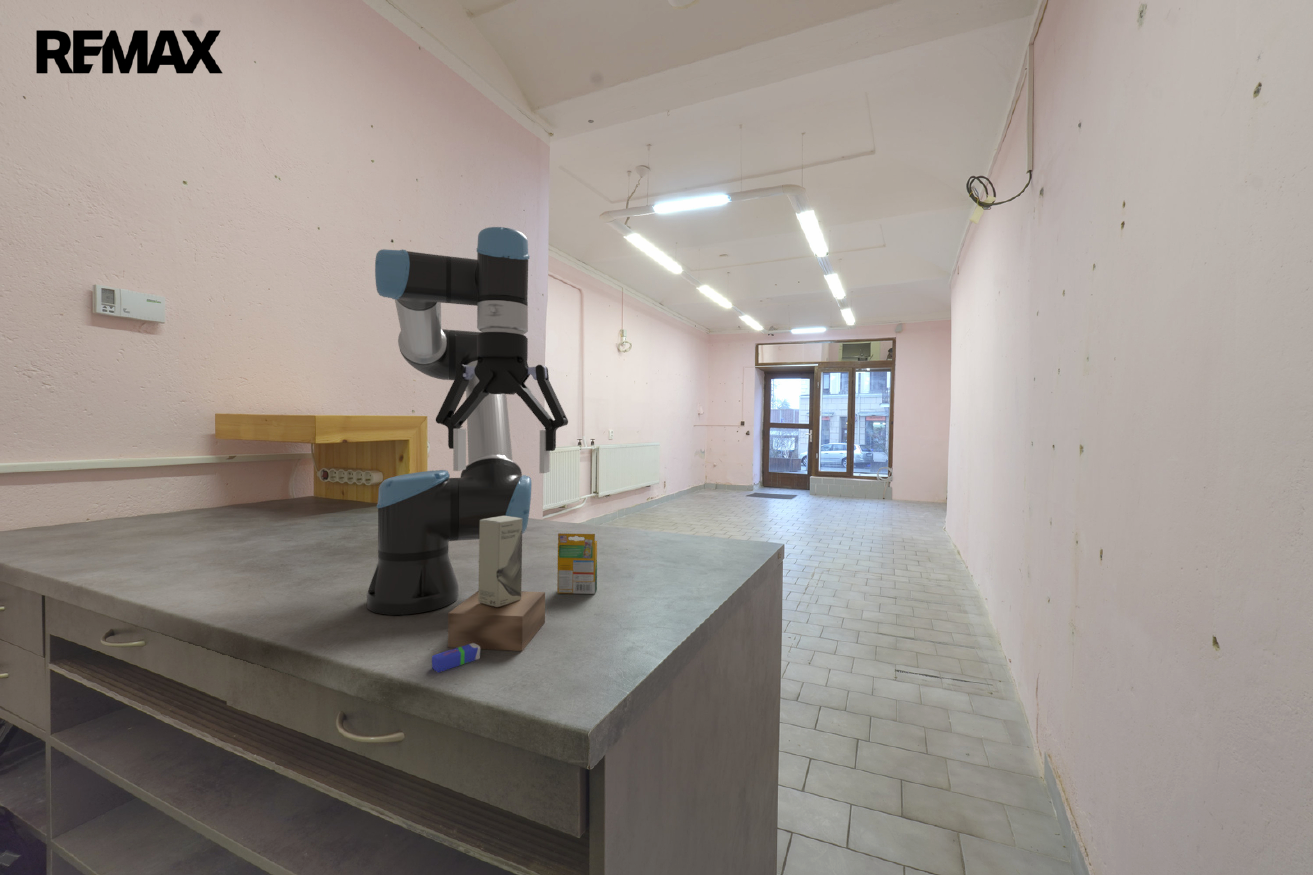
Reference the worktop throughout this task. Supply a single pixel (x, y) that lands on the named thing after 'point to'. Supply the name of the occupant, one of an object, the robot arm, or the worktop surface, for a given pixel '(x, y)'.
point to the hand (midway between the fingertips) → (501, 471)
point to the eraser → (455, 657)
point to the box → (500, 560)
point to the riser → (497, 623)
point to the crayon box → (577, 564)
